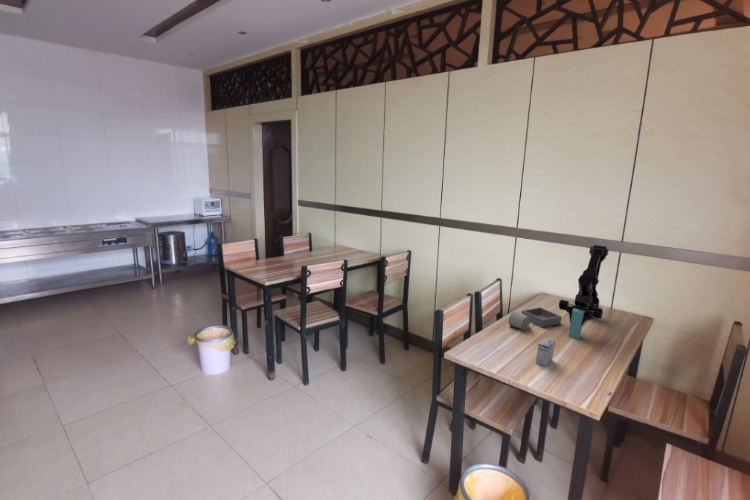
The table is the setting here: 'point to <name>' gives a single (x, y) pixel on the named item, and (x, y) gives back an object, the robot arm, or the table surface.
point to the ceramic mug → (519, 320)
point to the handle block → (576, 323)
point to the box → (542, 317)
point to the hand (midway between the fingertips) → (576, 324)
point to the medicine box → (545, 352)
